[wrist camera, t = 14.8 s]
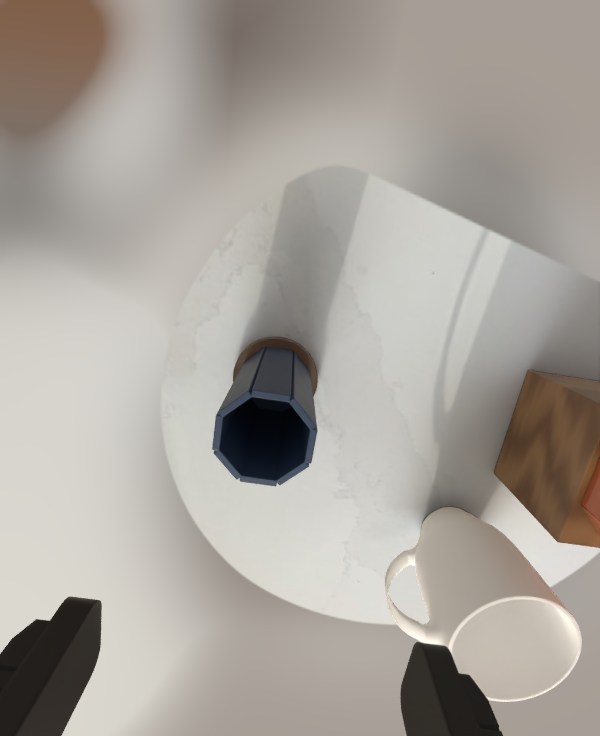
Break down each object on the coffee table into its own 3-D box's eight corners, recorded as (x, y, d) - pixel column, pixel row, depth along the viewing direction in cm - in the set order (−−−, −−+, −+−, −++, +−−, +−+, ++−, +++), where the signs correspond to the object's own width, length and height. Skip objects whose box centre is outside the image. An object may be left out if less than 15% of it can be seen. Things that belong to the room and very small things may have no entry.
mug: (493, 484, 36) (588, 592, 24) (492, 563, 38) (578, 695, 26) (367, 498, 36) (401, 611, 24) (374, 575, 38) (407, 712, 27)
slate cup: (245, 342, 31) (219, 385, 20) (314, 353, 31) (323, 400, 21) (237, 407, 32) (209, 477, 22) (303, 416, 33) (306, 490, 22)
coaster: (239, 330, 32) (238, 332, 31) (323, 343, 32) (324, 345, 31) (230, 409, 33) (228, 412, 33) (309, 420, 34) (310, 424, 33)
